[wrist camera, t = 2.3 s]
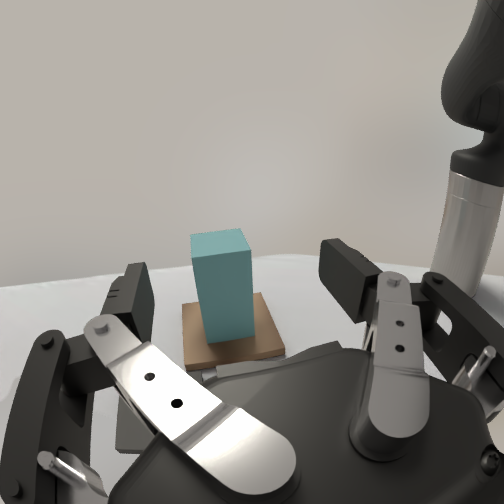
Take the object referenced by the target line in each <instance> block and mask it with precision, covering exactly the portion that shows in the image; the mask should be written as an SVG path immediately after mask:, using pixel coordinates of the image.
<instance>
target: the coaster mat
mask: <svg viewBox="0 0 504 504" xmlns="http://www.w3.org/2000/svg"><path fill="white" fill-rule="evenodd" d="M186 374H187V375H188V376H189V377H191V378H192V379H193V380H194V381H196V382H197V383H198V384H200V383H202V382H203V378H202V374H201V371H194V372H186ZM153 438H154V437H153V435H152V434H151V433H150V432H149V431H148V430H147V429H146V427H145V426H144V425H143V424H142V422H141V421H140V420H139V419H138V417H137V416H136V415H135V414H134V413H133V411H132V410H131V409H130V408H129V406H128V405H127V404H126V403H125V401H124V400H123V399H122V398H121V396H120V395H119V404H118V414H117V427H116V444H115V446H116V447H115V449H116V450H117V451H118V452H119V453H126V454H127V453H128V454H141V453H142V452H143V450H144V449H145V448H146V447H147V445H148V444H149V443H150V442H151V440H152V439H153Z"/></svg>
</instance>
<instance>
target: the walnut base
mask: <svg viewBox="0 0 504 504" xmlns="http://www.w3.org/2000/svg"><path fill="white" fill-rule="evenodd" d="M253 305H254V327H255V336H252V337H246V338H241V339H235V340H229V341H222V342H216V343H209V344H207V340H206V335H205V330H204V325H203V320H202V315H201V310H200V305H199V302H194V303H186V304H182V320H183V346H184V364H185V368H186V371H191V370H199V369H206V368H213V367H216V366H220V365H226V364H233V363H239V362H245V361H255V360H260V359H265V358H270V357H274V356H279V355H283V354H285V346H284V344H283V342H282V339H281V337H280V335H279V333H278V330H277V328H276V326H275V324H274V321H273V319H272V317H271V315H270V312H269V310H268V308H267V306H266V303H265V301H264V299H263V297H262V294H261V292H260V293H254V294H253Z"/></svg>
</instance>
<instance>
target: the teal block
mask: <svg viewBox="0 0 504 504" xmlns="http://www.w3.org/2000/svg"><path fill="white" fill-rule="evenodd" d="M190 237H191V257H192V264H193V271H194V276H195V282H196V288H197V294H198V299H199V305H200V310H201V315H202V320H203V325H204V330H205V335H206V340H207V344H209V343H216V342H222V341H229V340H235V339H241V338H246V337H252V336H255V327H254V305H253V283H252V261H251V249H250V247H249V245H248V243H247V241H246V239H245V237H244V235H243V233H242V231H241V229H231V230H223V231H215V232H207V233H200V234H192V235H190Z"/></svg>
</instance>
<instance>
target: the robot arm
mask: <svg viewBox="0 0 504 504" xmlns="http://www.w3.org/2000/svg"><path fill="white" fill-rule="evenodd" d="M441 99H442V104H443V107H444V110H445V112H446V114H447V115H448V116H449V117H450V118H451V119H452V120H453V121H455V122H457V123H459V124H461V125H464V126H467V127H471V128H474V129H477V130H481V131H484V136H483V140H482V142H481V143H480V144H479V145H477V146H475V147H473V148H469V149H463V150H457V151H454V152H453V153H452V156H451V163H450V173H449V181H448V190H447V196H446V202H445V208H444V214H443V219H442V224H441V229H440V233H439V238H438V242H437V246H436V250H435V254H434V258H433V262H432V266H431V269H430V272H426V273H425V274H424V275H423V278H422V281H421V283H409V280H408V279H407V278H406V277H405V276H403V275H402V274H399V273H396V272H391V271H387V272H383V271H381V270H380V269H379V268H378V267H377V266H376V265H374V264H373V263H372V262H371V261H369V260H368V259H367V258H366V257H364V255H362V254H361V253H360V252H359V251H357V250H355V249H353V248H350V247H348V246H347V245H346V244H345V243H343V242H342V241H341V240H340V239H338V238H336V239H327V240H323V241H322V243H321V249H320V260H319V277H320V280H321V282H322V283H323V285H324V286H325V287H326V288H327V290H328V291H329V292H330V293H331V294H332V296H333V297H334V298H335V299H336V301H337V302H338V303H339V304H340V306H341V307H342V308H343V309H344V311H345V312H346V313H347V314H348V316H349V317H350V318H351V319H352V321H353V322H354V323H355V324H356V323H360V322H363V321H366V322H367V323H366V327H365V331H364V338H363V344H362V349H361V350H360V349H353V348H342V347H341V345H340V344H339V342H338V341H334V342H330V343H326V344H323V345H319V346H315V347H311V348H309V349H307V350H304V351H302V352H300V353H298V354H296V355H294V356H292V357H290V358H288V359H285V360H282V361H245V362H239V363H233V364H226V365H220V366H216V370H217V376H214V377H212V378H209V379H207V380H205V381H204V382H202V383H200V384H198V383H197V382H196V381H194V380H193V379H192V378H191V377H189V376H188V375H187V374H186V373H185V372H183V371H182V370H181V369H180V368H179V367H177V366H176V365H175V364H174V363H173V362H172V361H171V360H169V359H168V358H167V357H166V356H165V355H164V354H163V353H162V352H160V351H159V350H158V349H157V348H156V347H155V346H154V345H153V344H152V343H151V334H152V324H153V315H154V306H155V303H154V295H153V290H152V287H151V283H150V278H149V274H148V270H147V266H146V264H145V262H142V263H134V264H128V267H127V269H126V272H125V274H124V276H119V277H118V278H117V279H116V280H115V281H114V282H113V283H112V284H111V287H110V289H109V292H108V295H107V298H106V300H105V303H104V305H103V308H102V311H101V314H100V315H99V316H97V317H95V318H93V319H91V320H90V321H89V322H88V323H87V324H86V326H85V328H84V334H82V335H79V336H76V337H72V338H69V339H65V337H64V335H63V333H62V332H61V331H59V330H49V331H46V332H44V333H42V334H41V335H40V336H39V337H38V338H37V339H36V340H35V342H34V344H33V346H32V349H31V351H30V354H29V356H28V359H27V361H26V364H25V367H24V370H23V372H22V375H21V378H20V381H19V384H18V387H17V390H16V394H15V397H14V400H13V404H12V408H11V412H10V415H9V420H8V423H7V428H6V433H5V438H4V443H3V448H2V455H1V461H0V495H1V498H2V499H3V501H4V503H5V504H504V454H503V453H501V452H499V450H497V448H496V447H495V445H494V443H493V441H492V438H491V436H490V433H489V430H488V426H487V423H489V422H491V421H492V420H493V419H494V418H495V417H496V416H497V414H498V413H499V412H500V411H501V410H502V409H503V408H504V328H503V327H502V326H501V325H500V324H499V323H498V322H497V321H495V320H494V319H493V318H492V317H491V316H490V315H489V314H488V313H487V312H486V311H485V310H484V309H483V308H482V307H480V306H479V305H478V304H477V303H476V302H475V301H474V300H473V299H472V297H473V296H474V295H475V293H476V291H477V288H478V285H479V283H480V280H481V277H482V275H483V272H484V269H485V266H486V263H487V260H488V256H489V254H490V250H491V247H492V243H493V239H494V236H495V232H496V228H497V223H498V220H499V215H500V211H501V205H502V200H503V194H504V0H478V2H477V6H476V9H475V13H474V15H473V18H472V21H471V24H470V26H469V29H468V31H467V33H466V35H465V38H464V39H463V41H462V43H461V45H460V46H459V48H458V50H457V51H456V53H455V54H454V56H453V58H452V59H451V61H450V63H449V65H448V66H447V68H446V71H445V74H444V77H443V81H442V87H441ZM441 310H442V311H443V312H444V313H445V314H446V315H447V316H448V317H449V318H450V320H451V322H452V330H451V332H450V335H448V334H447V333H446V332H445V331H444V330H443V329H442V328H441V327H440V326H439V324H438V323H437V319H438V317H439V315H440V312H441ZM423 351H424V352H425V353H426V355H427V356H428V357H429V358H430V360H431V361H432V362H433V364H434V365H435V366H436V367H437V369H438V370H439V371H440V373H441V374H442V375H443V377H444V378H445V379H446V381H447V382H446V381H443V380H440V379H438V378H435V377H432V376H430V375H428V374H427V373H425V371H424V356H423ZM111 386H113V387H114V388H115V390H116V391H117V392H118V394H119V395H120V396H121V398H122V399H123V400H124V401H125V403H126V404H127V405H128V406H129V408H130V409H131V410H132V411H133V413H134V414H135V415H136V416H137V417H138V419H139V420H140V421H141V422H142V424H143V425H144V426H145V427H146V429H147V430H148V431H149V432H150V433H151V434H152V435H153V437H154V438H153V439H152V440H151V442H150V443H149V444H148V445H147V447H146V448H145V449H144V450H143V452H142V453H141V454H140V456H139V457H138V458H137V459H136V460H135V462H134V463H133V464H132V465H131V467H130V468H129V469H128V470H127V471H126V472H125V474H124V475H123V476H122V477H121V478H120V480H119V481H118V482H117V483H116V484H115V486H114V487H113V489H112V491H111V492H110V495H109V497H108V496H107V494H106V493H105V491H104V488H103V484H102V480H101V478H100V476H99V474H98V473H97V472H96V471H95V470H93V469H92V468H91V467H90V441H91V424H92V413H93V402H94V394H95V391H98V390H101V389H105V388H108V387H111Z"/></svg>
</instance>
